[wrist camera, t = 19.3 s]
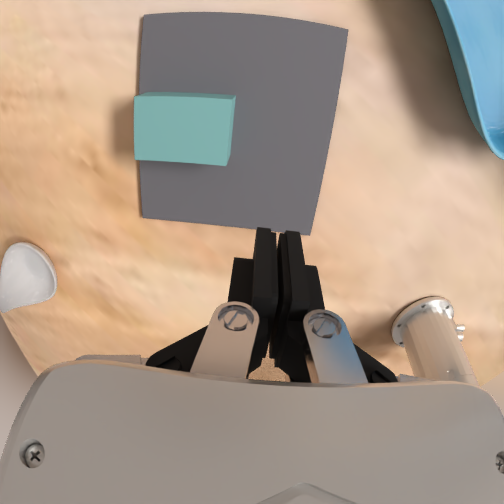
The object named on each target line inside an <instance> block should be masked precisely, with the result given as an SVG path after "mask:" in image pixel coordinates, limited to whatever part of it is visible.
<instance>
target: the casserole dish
mask: <svg viewBox="0 0 504 504" xmlns="http://www.w3.org/2000/svg"><path fill="white" fill-rule="evenodd" d="M431 1H432V4H433V6H434V9H435V11H436V14H437V16H438V19H439V22H440V24H441V27H442V30H443V33H444V36H445V39H446V42H447V45H448V49H449V52H450V55H451V59H452V62H453V66H454V69H455V73H456V77H457V80H458V84H459V87H460V91H461V94H462V97H463V100H464V103H465V106H466V109H467V111H468V114H469V116H470V119H471V121H472V123H473V124H474V126H475V128H476V129H477V131H478V132H479V134H480V135H481V137H482V138H483V140H484V141H485V142H486V144H487V145H488V146H489V148H490V150H491V151H492V152H493V153H494V154H495V155H496V156H497V157H499V158H501V159H503V160H504V0H431Z"/></svg>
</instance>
